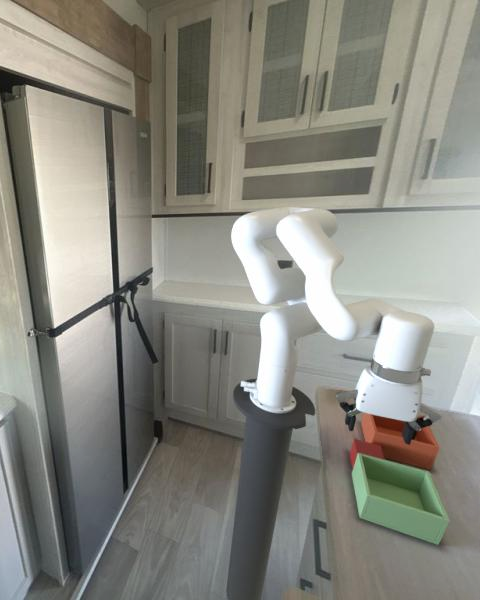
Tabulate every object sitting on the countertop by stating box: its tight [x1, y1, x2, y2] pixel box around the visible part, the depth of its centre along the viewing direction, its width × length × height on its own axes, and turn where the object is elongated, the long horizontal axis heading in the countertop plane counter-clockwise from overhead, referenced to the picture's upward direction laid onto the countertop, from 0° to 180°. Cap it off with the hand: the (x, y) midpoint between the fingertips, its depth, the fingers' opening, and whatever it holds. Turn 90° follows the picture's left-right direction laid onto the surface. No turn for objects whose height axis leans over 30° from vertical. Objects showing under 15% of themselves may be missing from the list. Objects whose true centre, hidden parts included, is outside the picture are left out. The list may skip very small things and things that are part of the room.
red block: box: [349, 438, 386, 470], centre depth 78 cm, size 5×5×5 cm
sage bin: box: [351, 453, 451, 546], centre depth 69 cm, size 12×12×7 cm
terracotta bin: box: [360, 412, 440, 471], centre depth 82 cm, size 11×11×7 cm
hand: (376, 433), depth 75 cm, fingers open, 9 cm apart
